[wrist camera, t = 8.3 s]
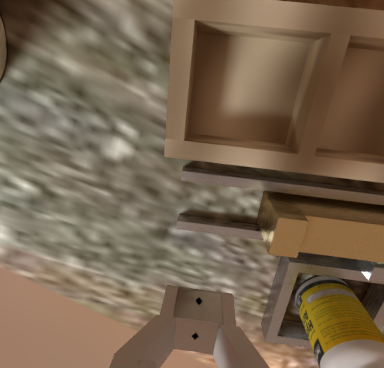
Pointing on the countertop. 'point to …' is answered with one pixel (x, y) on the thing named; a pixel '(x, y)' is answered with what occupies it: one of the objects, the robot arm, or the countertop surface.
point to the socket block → (305, 262)
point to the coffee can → (2, 48)
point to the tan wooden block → (321, 226)
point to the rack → (278, 87)
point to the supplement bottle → (338, 325)
